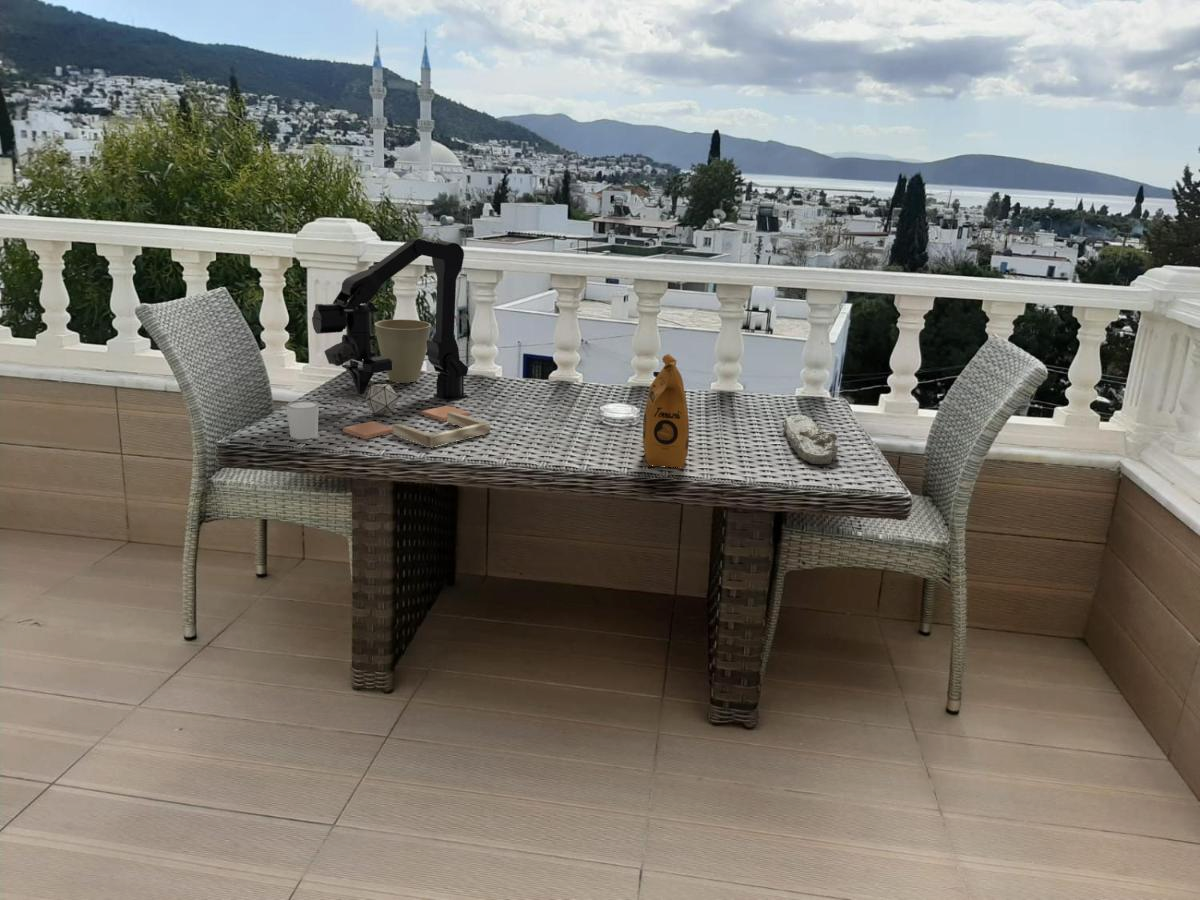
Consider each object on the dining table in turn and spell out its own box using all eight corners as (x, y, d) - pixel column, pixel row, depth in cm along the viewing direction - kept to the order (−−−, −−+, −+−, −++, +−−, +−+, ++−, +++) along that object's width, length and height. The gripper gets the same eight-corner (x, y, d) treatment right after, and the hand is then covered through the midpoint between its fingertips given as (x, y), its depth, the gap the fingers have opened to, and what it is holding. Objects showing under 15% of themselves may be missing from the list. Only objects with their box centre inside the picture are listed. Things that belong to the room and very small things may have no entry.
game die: (388, 431, 215) (394, 405, 207) (354, 417, 214) (360, 391, 207) (402, 406, 221) (409, 380, 213) (369, 392, 220) (375, 365, 213)
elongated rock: (814, 431, 225) (775, 430, 226) (815, 410, 224) (775, 410, 224) (845, 467, 191) (798, 467, 192) (847, 443, 190) (800, 443, 191)
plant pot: (367, 384, 243) (365, 326, 239) (389, 373, 257) (387, 317, 253) (420, 389, 241) (419, 330, 236) (438, 377, 255) (438, 321, 250)
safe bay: (452, 422, 212) (452, 411, 211) (489, 433, 204) (490, 423, 203) (393, 435, 199) (393, 424, 199) (431, 448, 191) (431, 437, 191)
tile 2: (446, 409, 222) (446, 405, 222) (468, 416, 217) (468, 412, 217) (421, 414, 216) (421, 411, 216) (443, 421, 212) (443, 417, 211)
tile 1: (373, 425, 206) (373, 421, 206) (394, 432, 201) (394, 428, 201) (343, 431, 200) (343, 427, 200) (365, 439, 195) (364, 435, 195)
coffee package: (639, 467, 186) (645, 363, 179) (641, 450, 198) (648, 351, 191) (687, 471, 185) (695, 366, 178) (687, 453, 197) (694, 354, 190)
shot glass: (327, 433, 198) (325, 403, 196) (307, 441, 192) (305, 410, 190) (300, 429, 200) (299, 399, 198) (280, 437, 194) (278, 406, 192)
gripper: (306, 328, 214) (310, 392, 219) (353, 340, 203) (355, 407, 207) (346, 324, 222) (349, 385, 227) (393, 335, 211) (395, 399, 216)
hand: (361, 394), depth 219 cm, fingers closed
